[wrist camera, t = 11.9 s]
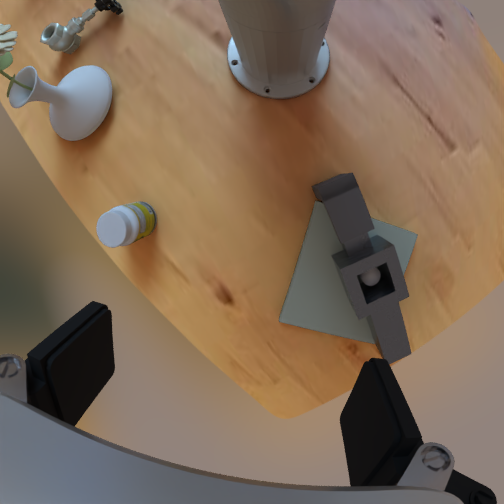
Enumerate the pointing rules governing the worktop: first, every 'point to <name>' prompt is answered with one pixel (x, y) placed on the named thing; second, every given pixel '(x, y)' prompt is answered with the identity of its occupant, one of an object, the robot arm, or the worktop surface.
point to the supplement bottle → (126, 224)
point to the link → (376, 291)
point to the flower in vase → (60, 93)
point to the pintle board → (323, 268)
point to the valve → (74, 28)
